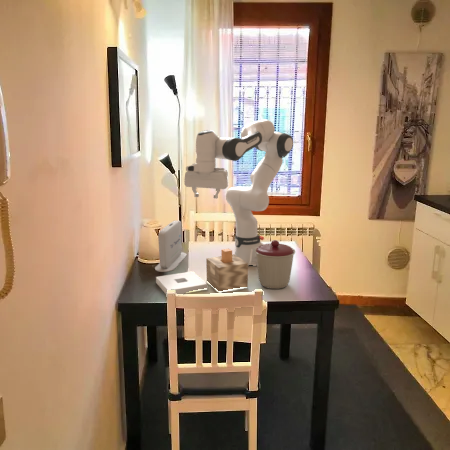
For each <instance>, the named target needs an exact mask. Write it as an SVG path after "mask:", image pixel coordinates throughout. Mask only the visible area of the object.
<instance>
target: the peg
mask: <svg viewBox="0 0 450 450" xmlns="http://www.w3.org/2000/svg"><path fill="white" fill-rule="evenodd" d="M220 252H221V253H220V254H221V255H220V256H222V262H223V263H229V262H232V255H233V250H232V249H230V248H223V249H221V251H220Z"/></svg>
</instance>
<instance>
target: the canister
mask: <svg viewBox="0 0 450 450" xmlns="http://www.w3.org/2000/svg"><path fill="white" fill-rule="evenodd" d="M263 244H264V245H261V246H259V247H257V248H256V249H255V253H256V257H257V266H256V267H257V275H258V281H259V283H260V285H261V286H263V287H264V288H266V289H275V290H277V289H278V290H280V289H283V288H285V287H287V286H288V284H289V283H290V279H291V275H292V269H293V262H294V255H295V254H296V250H295V249H294V248H293V247H292V246H290V245H287V244H282V243H280V242H279V241H278V240H277V239H273V240H272V241H271V242H270V243H263Z"/></svg>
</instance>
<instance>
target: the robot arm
mask: <svg viewBox="0 0 450 450" xmlns="http://www.w3.org/2000/svg"><path fill="white" fill-rule="evenodd" d="M240 136H241V138H240V137H221V136H219V135H217V134H216V133H215V131H214V130H211V129H209V130H208V129H206V130H201V131H199V132H198V133H197V135H196V139H195V152H196V159H195V163H192V164H190V165H188V166H186V167H185V171H186V172H185V173H184V178H183V181H184V186H185V187H186V188H191V190H192V192H193V194H194V198H199V197H200V193H199V192H197V189H198V188H200V189H214V190H215V194H214V193H213V199H218V198H219V193H220V192H221V190H226V189H227V188H228V186H229V185H228V183H229V182H228V177H229V176H228V170H227V169H226V168H223V167H222V168H221V167H216V166H217V165H216V164H217V163H216V159H221V160H229V161H233V162H238V161H239V160H241V159H242V157H243V156H244V155H245V154H246V153H248V152H249V151H251V150H252V149H254V148H255V149H256V150H258V151H260V152H265V154H264V157H263V158H262V159H261V160H260V161H259V162H258V164H257V165H256V166H255V168H254V169H253V171H252V172H251V174H250V176H249V177H250V179H249V180H250V182H251V185H250V186H249V187H245V186H231V187H230V188H228V189H227V191H226V194H225V200H226V202H227V203H228V205H229V206H230V207H231V210H232V212H233V215H234V218H235V235H234V236H235V237H234V243H235V247H234V255H236V256H237V257H239V258H241V259H242V260H244V261H245V262H247V263H248V266H249V265H253V266H252V267H257V257H256V253H255V249H256V248H257V247H259V246H261V245H264V244H265V243H263V242H262V241H264V239H265V238H264V237H265V236H262V235H259V234H258V219H257V218H256V217H255V216H254V214H253V212H263V211H265V210H267V208H268V206H269V204H270V198H269V194H268V190H269V187H270V185H271V184H272V182H273V180H274V179H275V177H277V175H278V173H279V171H280V169H281V167H282V165H283V158H286V156H288V154H290V153H291V151H292V149H293V147H294V139H293V136H292V135H290V134H289V133H286V132H279V131H276V129H275V126H274V123H273V122H272V121H271V120H269V119H261V120H260V119H259V120H256V121H253V122H249V123H248V124H246V125H244V127H242V130H241V132H240Z"/></svg>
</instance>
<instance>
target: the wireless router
mask: <svg viewBox="0 0 450 450" xmlns="http://www.w3.org/2000/svg"><path fill="white" fill-rule="evenodd" d="M182 235H183V233H182V222H181V220H173V221H171V222H169V224H167V225H166V226H164V227H163V228H162V229H160V231H159V232H158V235H157V236H158V253H159V254H158V256H159V263H158V264H157V265H156V266H155V267H154V269H155V271H156V272H160V273H168V272H172V271H174V270H175V269H176V268H177V267H179V265H181V262H182V261H184V259H185V258H186V257H187V253H186V252H183V251H182V249H183V248H182V246H183V243H182V241H183V239H182V237H183V236H182Z"/></svg>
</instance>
